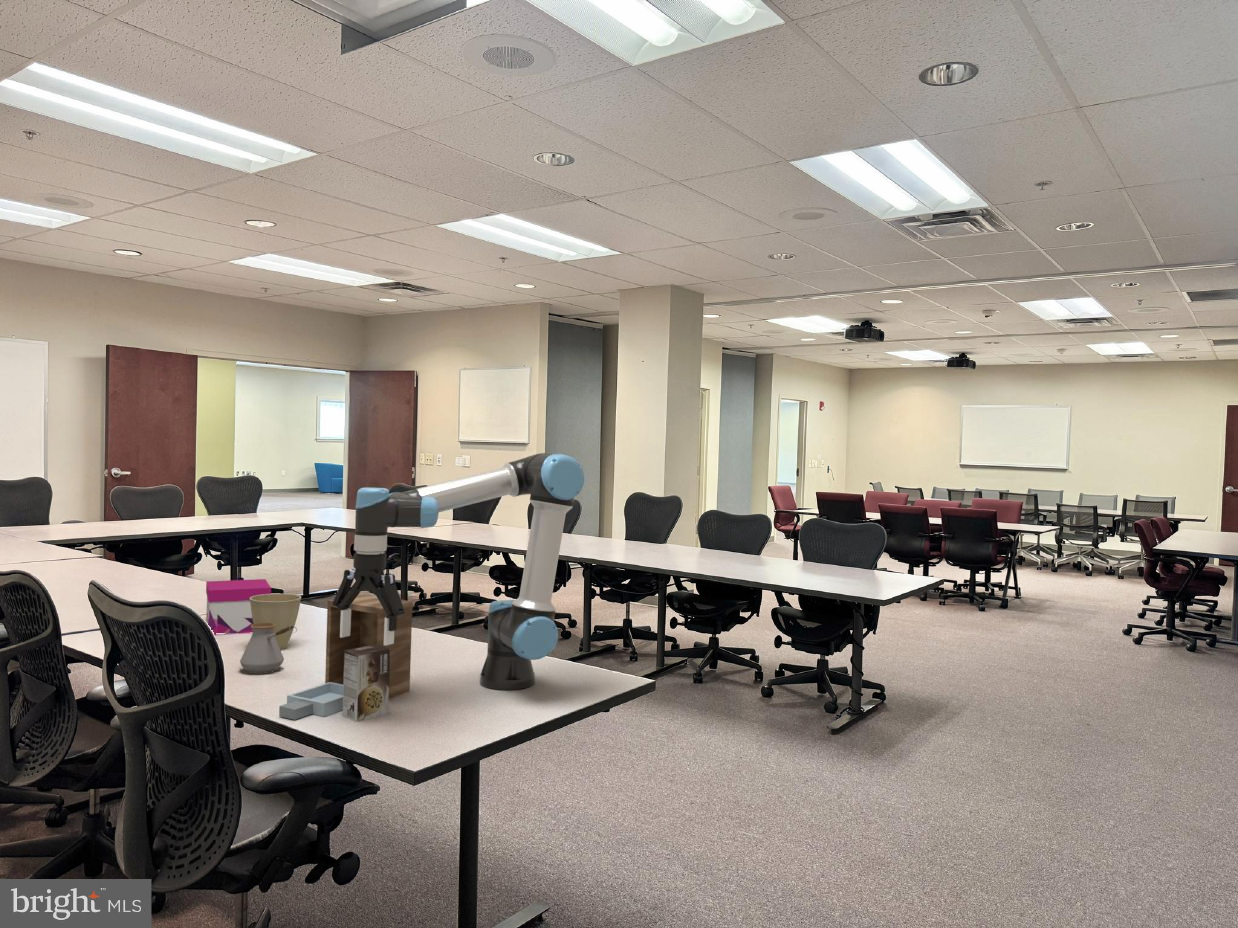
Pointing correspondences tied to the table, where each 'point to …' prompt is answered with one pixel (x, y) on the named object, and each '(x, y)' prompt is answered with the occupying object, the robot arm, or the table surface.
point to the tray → (314, 701)
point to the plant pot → (276, 613)
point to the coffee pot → (263, 649)
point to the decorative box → (232, 604)
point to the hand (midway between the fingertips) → (366, 640)
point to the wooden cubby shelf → (370, 640)
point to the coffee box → (366, 682)
